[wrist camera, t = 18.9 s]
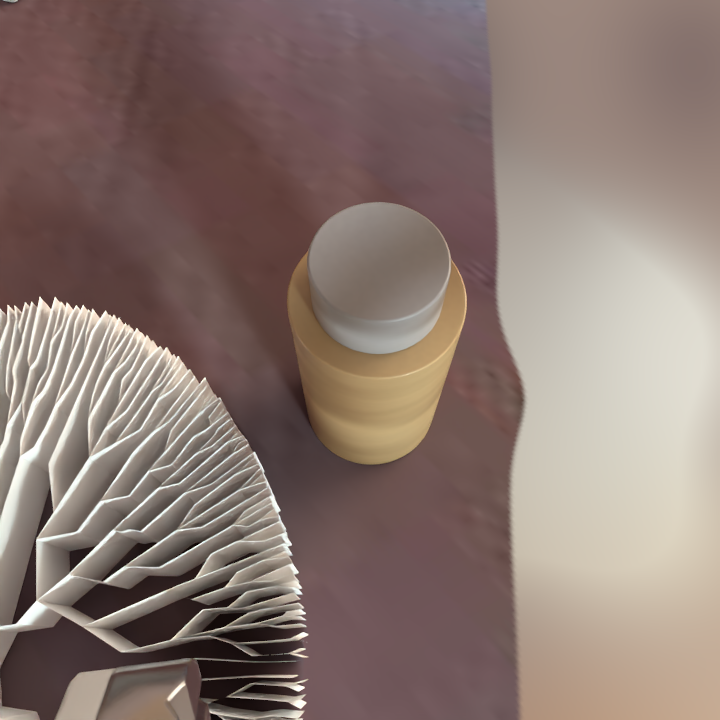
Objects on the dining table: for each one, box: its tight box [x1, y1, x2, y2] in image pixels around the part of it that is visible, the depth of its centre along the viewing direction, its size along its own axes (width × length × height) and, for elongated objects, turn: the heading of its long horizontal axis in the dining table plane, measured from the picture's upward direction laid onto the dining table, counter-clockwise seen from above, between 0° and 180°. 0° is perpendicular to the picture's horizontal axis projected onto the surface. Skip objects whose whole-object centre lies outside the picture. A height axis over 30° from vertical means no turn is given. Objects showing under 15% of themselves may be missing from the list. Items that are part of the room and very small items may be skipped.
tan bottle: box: [287, 202, 467, 465], centre depth 22 cm, size 6×6×11 cm
